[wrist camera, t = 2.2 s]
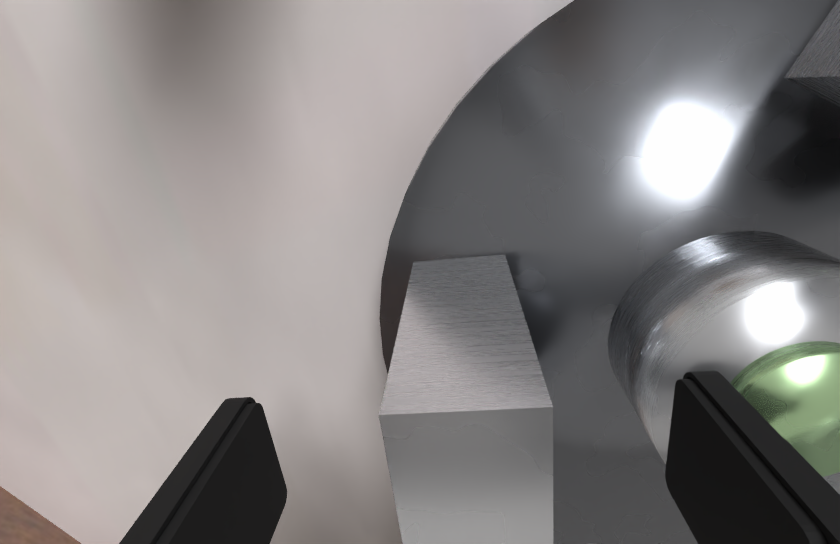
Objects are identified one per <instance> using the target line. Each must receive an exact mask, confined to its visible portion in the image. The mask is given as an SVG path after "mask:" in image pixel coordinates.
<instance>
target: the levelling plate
mask: <svg viewBox="0 0 840 544" xmlns="http://www.w3.org/2000/svg"><path fill="white" fill-rule="evenodd" d="M837 2H838V0H574V1H573V2H571V3H570V4H568V5H567V6H566V7H564V8H563V9H561V10H560V11H558V12H557V13H555V14H554V15H552V16H551V17H549V18H548V19H547V20H545V21H544V22H542V23H541V24H539V25H538V26H537V27H535V28H534V29H533V30H531V31H530V32H529V33H527V34H526V35H525V36H524V37H523V38H522V39H520V40H519V41H518V42H517V43H516V44H515V45H514V46H512V47H511V48H510V49H509V50H508V51H507V52H506V53H505V54H503V55H502V56H501V57H500V58H499V59H498V60H497V61H496V62H494V63H493V64H492V65H491V66H490V67H489V68H488V69H487V70H486V71H485V72H484V74H483V75H482V76H481V77H480V78H479V79H478V80H477V81H476V83H475V84H474V85H473V86H472V87H471V88H470V89H469V91H468V92H467V93H466V94H465V95H464V96H463V97H462V98H461V100H460V101H459V102H458V103H457V104H456V106H455V107H454V109H453V110H452V112H451V113H450V115H449V116H448V117H447V119H446V120H445V122H444V123H443V125H442V126H441V128H440V129H439V131H438V132H437V134H436V135H435V137H434V138H433V140H432V141H431V143H430V145H429V147H428V149H427V151H426V153H425V155H424V157H423V159H422V161H421V162H420V164H419V166H418V168H417V170H416V172H415V174H414V176H413V178H412V180H411V183H410V185H409V187H408V189H407V192H406V194H405V196H404V199H403V202H402V205H401V208H400V211H399V214H398V217H397V219H396V222H395V225H394V228H393V231H392V234H391V237H390V241H389V246H388V251H387V256H386V261H385V266H384V271H383V276H382V286H381V305H380V326H381V337H382V348H383V356H384V360H385V364H386V368H387V372H389V368H390V364H391V359H392V355H393V350H394V346H395V341H396V337H397V333H398V328H399V324H400V319H401V315H402V310H403V306H404V301H405V297H406V293H407V288H408V284H409V279H410V275H411V270H412V266H413V262H420V261H432V260H444V259H456V258H468V257H480V256H492V255H504V254H505V256H506V260H507V263H508V266H509V269H510V272H511V275H512V279H513V282H514V285H515V288H516V291H517V294H518V298H519V301H520V304H521V307H522V310H523V314H524V317H525V320H526V323H527V326H528V329H529V333H530V336H531V339H532V342H533V345H534V348H535V352H536V355H537V358H538V361H539V364H540V367H541V371H542V374H543V377H544V380H545V383H546V387H547V390H548V393H549V396H550V399H551V402H552V406H553V544H698V543H697V541H696V539H695V537H694V536H693V534H692V532H691V530H690V528H689V527H688V525H687V523H686V521H685V519H684V517H683V516H682V514H681V512H680V510H679V508H678V507H677V505H676V503H675V501H674V499H673V498H672V496H671V494H670V492H669V490H668V487H667V484H666V479H665V470H666V461H667V452H668V443H669V434H670V426H671V417H672V408H673V399H674V390H675V384H676V381H677V380H679V379H683V376H684V374H685V373H687V372H695V371H712V370H714V371H718V372H719V373H720V374H722V375H723V376H724V377H725V378H726V380H727V381H728V382H729V383H730V384H731V385H732V386H733V387H734V388H735V389H736V390H737V391H738V392H739V393H740V394H741V395H742V396H743V397H744V398H745V399H746V400H747V401H748V402H749V403H750V404H751V405H752V406H753V407H754V408H755V409H756V410H757V411H758V413H759V414H760V415H761V416H762V417H763V418H764V419H765V420H766V421H767V422H768V423H769V424H770V425H771V426H772V427H773V428H774V429H775V430H776V431H777V432H778V433H779V434H780V435H781V436H782V437H783V438H784V439H785V440H787V441H788V442H789V443H790V444H791V445H792V446H793V447H794V448H795V449H796V450H797V451H798V452H799V453H800V454H801V455H802V457H803V458H804V459H805V460H806V461H807V462H808V463H809V464H810V465H811V466H812V467H813V468H814V469H815V470H816V471H817V472H818V473H819V474H820V475H821V476H822V477H823V478H824V479H825V480H826V481H827V482H828V483H829V484H830V485H831V486H832V487H833V488H834V489H835V490H836V491H837V492H838V493H839V494H840V107H839V106H837V105H835V104H833V103H832V102H830V101H828V100H826V99H824V98H822V97H820V96H818V95H816V94H814V93H812V92H810V91H808V90H806V89H804V88H802V87H801V86H799V85H797V84H795V83H793V82H791V81H789V80H787V79H785V78H784V77H785V76H786V74H787V73H788V71H789V70H790V68H791V67H792V66H793V64H794V63H795V61H796V60H797V58H798V57H799V56H800V54H801V53H802V51H803V50H804V49H805V47H806V46H807V44H808V43H809V41H810V40H811V39H812V37H813V36H814V34H815V33H816V31H817V30H818V29H819V27H820V26H821V24H822V23H823V21H824V20H825V19H826V17H827V16H828V14H829V13H830V11H831V10H832V9H833V7H834V6H835V4H836V3H837Z"/></svg>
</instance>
